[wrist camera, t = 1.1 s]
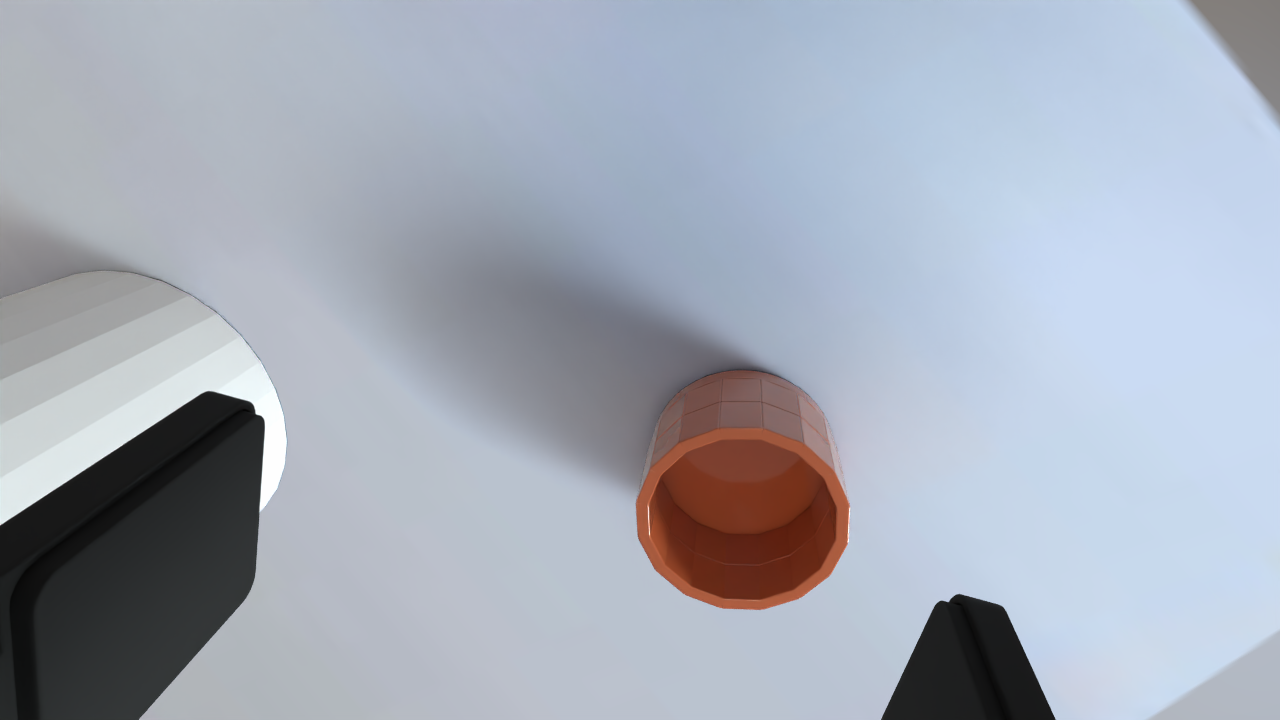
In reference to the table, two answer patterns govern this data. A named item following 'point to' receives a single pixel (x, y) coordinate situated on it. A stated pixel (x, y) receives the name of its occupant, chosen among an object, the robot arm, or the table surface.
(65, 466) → the bottle
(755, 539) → the small cup
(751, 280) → the table surface
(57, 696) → the robot arm
